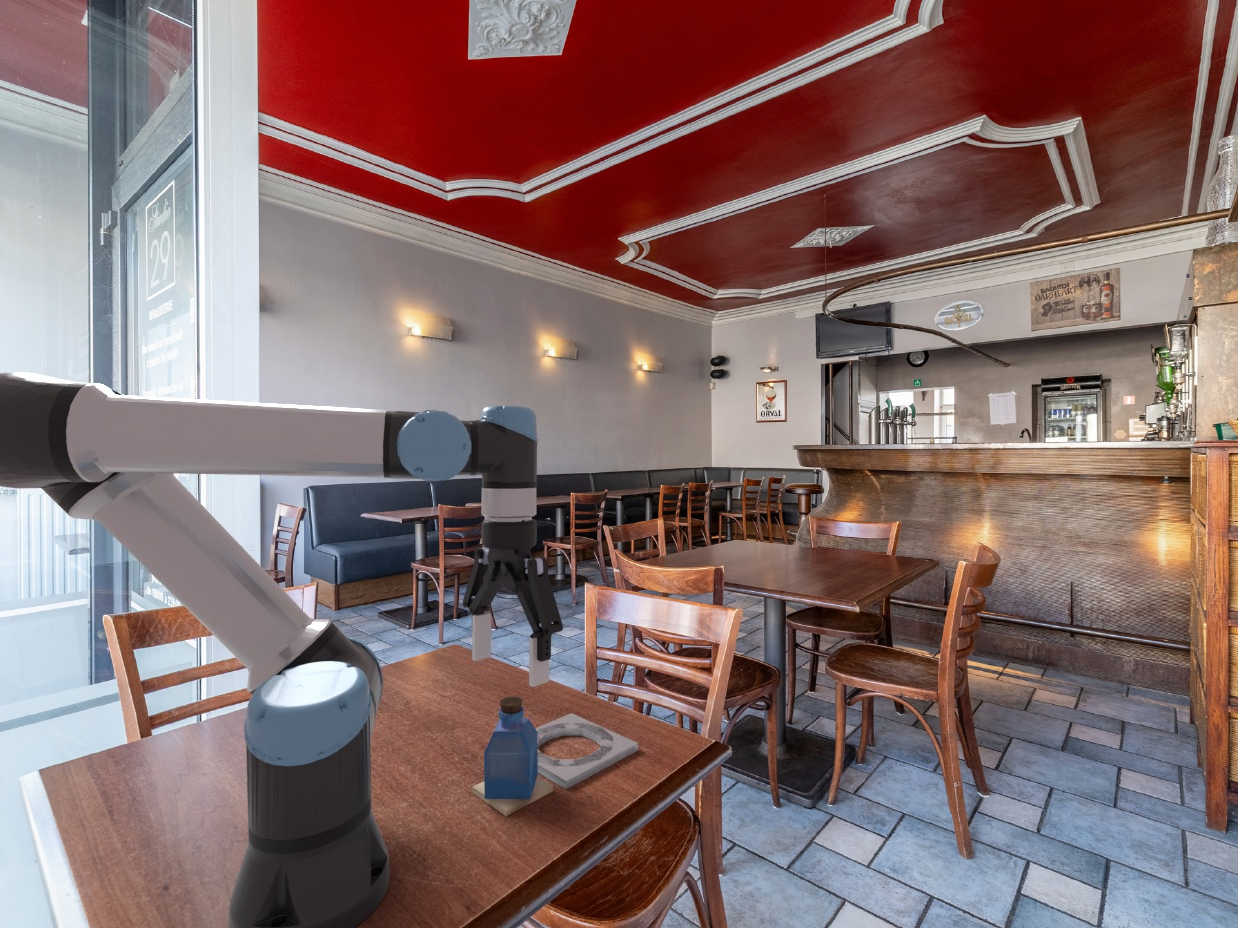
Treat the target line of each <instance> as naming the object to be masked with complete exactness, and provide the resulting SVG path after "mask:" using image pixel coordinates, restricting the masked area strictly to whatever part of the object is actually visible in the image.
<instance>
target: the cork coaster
mask: <svg viewBox="0 0 1238 928" xmlns="http://www.w3.org/2000/svg"><path fill="white" fill-rule="evenodd" d="M471 789H472V790H471V791H472V794H474V795H475V796H477V797H478V798H480V799H481V800H483V802H485V803H486V804H488V805H489V806H490V807H492V808H494V809H495V810H497V811H498V812H499V813H501V814H502V815H503V816H505V817H508V816H509V815H511V814H513V813H514V812H517V811H518V810H520V809H523V808H524V807H526V806H528V805H531V804H532V803H534V802H535V801H538V800H539V799H542V798H543V797H545V796H547V795H549V794H550V793H553V792H554V785H553V784H552V783H550V782H549V781H547V780H545V779H543V778H542V777H540V776H539V775H537V779H536V782H535V785H534V789H533V792H532V795H531V799H485V786H484V781H482V782H479V783H477V784H475V785H473V786H472V788H471Z"/></svg>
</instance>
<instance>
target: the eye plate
mask: <svg viewBox="0 0 1238 928" xmlns="http://www.w3.org/2000/svg"><path fill="white" fill-rule="evenodd" d="M534 728H535V729H536V731H537V744H538V775H541V776H542V777H545V778H547V779H548V780H550V781H551V782H553V783H555V784H556V785H558V786H560V787H561V788H563V789H565V790H567V789H569V788H571V787H573V786H575V785H577V784H579V783H581V782H583V781H585V780H586V779H588V778H590V777H591V776H594V775H596V774H598V773H599V772H601V771H602V770H605V769H607V768H608V767H611V766H613V765H614V764H616V763H618V762H620V761H622V760H623V759H625V758H627V757H629V756H631V755H633V754H635V753H637V752H638V751H639V743H638V742H637V741H635V740H632V739H630V738H628V737H625V736H623V735H622V734H618V733H616V732H615V731H613V730H609V729H608V728H605V727H603V726H601V725H599V724H596V723H594V722H593V721H590V720H587V719H585V718H584V717H582V716H578V715H577V714H575V713H572V712H571V713H569V714H566V715H564V716H561V717H559V718H557V719H554V720H552V721H549V722H547V723H544V724H542V725H540V726H537V727H534ZM565 736H567V737H574V736H579V737H583V738H587V739H590V740H592V741H594V742H596V744H598V745H599V747H598V748H597V749H596V750H595V751H594V752H592V753H590V754H587V755H585V756H581V757H578V758H568V759H567V758H565V759H564V758H560V759H559V758H555V757H552V756H549V755H546V754H544V753H542V751H540V748H539V747H540V746H542V745H543V744H545V743H546V742H548V741H551V740H553V739H557V738H561V737H565Z"/></svg>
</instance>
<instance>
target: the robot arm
mask: <svg viewBox="0 0 1238 928" xmlns="http://www.w3.org/2000/svg"><path fill="white" fill-rule="evenodd" d="M538 444H539V439H538V432H537V415H536V413H535V411H534V410H533V409H532V408H529V407H526V406H520V405H519V406H516V405H491V406H486V407H484V408H483V410H482V412H481V417H480V419H476V420H460V419H459V418H458V417H457V416H455V415H454V414H453V415H452V414H451V413H449V412H448V411H441V410H433V409H428V410H427V409H426V410H424V411H405V410H403V411H402V410H386V409H373V408H372V409H371V408H370V409H369V408H352V407H337V406H319V405H318V406H316V405H303V404H302V405H301V404H300V405H299V404H283V403H280V404H279V403H264V402H262V403H261V402H246V401H245V402H244V401H232V400H231V401H229V400H228V401H227V400H215V399H214V400H213V399H212V400H210V399H209V400H208V399H195V398H193V399H191V398H179V397H178V398H175V397H160V396H159V397H157V396H140V395H125V394H124V393H122V392H120V391H117V390H114V389H112V388H110V387H108V386H106V385H104V384H103V383H102V384H101V383H96V382H94V383H93V382H79V381H72V380H71V381H70V380H66V379H61V378H57V377H51V376H47V375H43V374H38V373H33V372H32V373H30V372H21V371H19V372H1V373H0V487H2V488H11V489H41V490H43V491H44V493H46V495H48V496H49V497H50V499H52V501H53V502H54V503H55V504H57V505H58V507H60V508H61V509H62V510H63V511H64V512H65V513H66V514H67V515H68V516H69V517H70V518H72V519H76V520H77V519H79V520H90V521H92V520H93V521H97V522H99V524H100V525H102V526H103V527H104V528H105V529H106V530H107V531H108V532H109V533H110V534H111V536H113V537H114V538H115V539H116V540H117V541H118V542H119V543H120V544H121V546H123V547H124V548H125V549H126V550H127V551H128V552H129V554H131V555H132V556H133V557H134V558H135V559H136V560H137V561H138V562H139V563H140V565H142V566H143V567H144V568H145V569H146V570H147V571H148V572H149V573H150V574H151V575H152V576H153V577H154V578H155V579H156V580H157V581H158V582H159V583H160V584H161V585H162V586H163V587H164V588H165V589H166V590H167V591H168V592H169V593H170V594H171V595H172V596H173V597H174V598H175V599H176V600H178V602H180V604H181V605H183V606H184V607H185V609H186V610H187V611H188V612H189V613H190V614H192V616H193V617H195V618H196V620H198V622H200V623H201V625H202V626H204V627H205V628H206V629H207V630H208V631H209V633H211V634H212V635H213V637H215V638H216V639H217V640H218V641H219V642H220V643H221V644H222V645H223V647H225V648H226V650H228V651H229V652H230V653H231V654H232V655H233V656H234V657H235V658H236V660H238V661H239V662H240V663H241V664H242V665H243V666H244V667H245V668H246V669H247V671H248V672H247V673H248V676H247V677H248V678H247V684H246V691H247V692H248V693H250V694H251V696H250V698H249V700H248V704H247V707H246V717H245V720H244V725H243V730H244V738H243V739H244V740H245V744H246V745H245V748H246V753H245V754H246V785H247V786H246V788H247V789H246V791H247V793H246V795H247V797H246V798H247V826H248V827H247V829H248V842H247V847H246V850H245V853H244V856H243V858H242V863H241V865H240V868H239V871H238V875H237V877H236V880H235V883H234V887H233V890H232V893H231V897H230V898H229V899H230V900H229V905H228V916H229V917H228V923H229V924H228V925H229V926H228V927H229V928H356V927H357V926H358V925H360V924H361V923H362V922H363V921H364V920H365V919H367V918H368V917H369V916H370V915H371V914H372V913H373V912H374V911H375V910H376V909H377V907H379V905H380V904H381V902H382V900H383V899H384V897H385V895H386V894H387V891H388V888H389V884H390V876H391V875H390V873H391V872H390V856H389V851H388V849H387V846H386V844H385V840H384V839H383V838H384V837H382V833H381V831H380V828H379V826H378V823H377V821H376V819H375V815H374V813H373V810H372V759H371V758H372V756H371V755H372V753H371V749H372V747H371V746H372V737H373V730H374V726H375V722H376V721H375V720H376V718H377V712H378V708H379V704H380V701H381V700H382V695H383V688H384V678H383V670H382V667H381V663H380V661H379V659H378V657H377V654H375V653H374V651H373V650H372V649H371V648H370V647H369V645H367V643H366V644H365V643H364V642H362V641H361V640H359V639H356V638H353V637H349V636H346V635H345V634H344V633H343V631H341V630H340V629H339V628H338V627H337V626H336V625H335V624H334V623H333V621H332V620H330V619H328V618H321V619H319V618H317V619H315V618H312V617H310V616H309V615H308V614H307V613H306V612H305V611H304V610H303V609H302V608H301V607H300V605H299V604H297V603H296V601H294V599H293V598H292V597H290V595H289V594H288V593H287V592H286V591H285V590H284V589H283V588H282V587H281V586H280V585H279V584H278V582H276V581H275V580H274V578H273V577H272V576H271V575H270V574H268V572H267V571H266V570H265V569H264V568H263V567H261V565H260V564H259V563H258V562H257V561H256V560H255V559H254V558H253V557H252V555H251V554H250V553H249V552H247V551H246V549H245V548H244V547H243V546H242V545H241V544H240V543H239V542H238V541H237V540H236V539H235V538H234V537H233V536H232V535H231V533H230V532H228V531H227V529H226V528H225V527H223V525H222V524H221V523H220V522H219V521H218V520H217V519H216V518H215V517H214V516H213V515H212V513H210V511H208V510H207V508H206V507H205V506H204V505H203V504H202V503H201V502H200V501H199V500H198V499H197V498H196V496H194V495H193V494H192V493H191V492H190V491H189V490H188V488H187V487H186V486H184V484H182V482H181V481H180V480H179V479H178V478H177V477H176V476H175V475H174V474H185V475H187V474H188V475H231V476H232V475H234V476H239V475H240V476H242V475H243V476H279V477H280V476H282V477H283V476H284V477H285V476H286V477H287V476H288V477H323V478H324V477H325V478H326V477H327V478H328V477H332V478H369V479H370V478H374V479H375V478H377V479H379V478H380V479H381V478H382V479H394V480H395V479H397V480H398V479H401V480H403V479H406V480H422V481H426V482H444V481H448V480H450V479H452V478H454V477H455V476H473V477H474V476H475V477H476V476H481V479H482V480H481V481H482V482H481V514H480V515H482V516H483V517H485V519H483V521H482V522H481V546H483V547H480V548H479V547H478V548H476V549H474V559H473V564H472V565H473V566H472V568H471V569H472V570H471V573H470V575H469V579H468V583H467V586H466V588H465V592H464V596H463V599H462V607H463V608H464V609H465V608H468V612H469V614H470V615H471V633H472V634H471V636H472V637H471V638H472V639H471V641H472V642H471V643H472V644H471V645H472V646H471V652H472V653H471V654H472V655H471V658H472V660H471V661H473V662H478V661H482V660H485V659H489V658H492V613H491V612H489V611H491V610H492V609H491V607H490V606H491V604H492V603H493V601H494V599H495V597H496V595H497V594H498V592H499V591H500V588H501V587H502V586H505V587H507V588H509V589H510V590H511V591H512V593H514V594H516V596H517V599H518V601H519V603H520V605H521V608H522V610H523V612H524V615H525V617H526V619H527V621H528V623H529V626H530V628H531V631H532V633H531V634H530V635H529V636H528V637H529V638H528V639H529V640H528V641H529V642H528V643H529V644H528V646H529V647H528V648H529V652H528V653H529V654H528V655H529V656H528V659H529V660H528V661H529V662H528V663H529V664H528V665H529V666H528V668H529V669H528V675H529V676H528V679H529V680H528V686H529V687H531V688H534V687H538V686H540V685H543V684H546V683H549V682H550V660H551V657H552V635H554V634H557V633H559V632H562V631H563V630H564V625H563V622H562V618H561V615H560V611H559V608H558V603H557V601H556V597H555V594H554V591H553V587H552V583H551V580H550V577H549V569H548V568H549V567H548V560H547V558H546V557H536V558H532V554H531V550H532V548H533V547H535V546H536V545H537V542H538V541H537V539H538V538H537V537H538V536H537V535H538V533H537V532H538V531H537V529H538V528H537V526H538V525H537V521H536V520H535V519H534V518H533V517H535V516H536V515H537V485H538V483H537V481H538V479H537V476H538V475H537V474H538V473H537V472H538V471H537V470H538Z"/></svg>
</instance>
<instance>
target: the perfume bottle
mask: <svg viewBox="0 0 1238 928" xmlns="http://www.w3.org/2000/svg"><path fill="white" fill-rule="evenodd" d="M523 701H524V700H523V698H522V697H519V696H514V695H513V696H512V695H511V696H506V697H503V698H502V699H500V700H499V704H500V708H499V710H498V720H499V721H498V723H497V724H496V727H495V729H494V730H493V733H492V735H491V737H490V739H489V742H488V743H487V746H486V748H485V750H484V753H483V762H484V763H483V766H484V767H483V768H484V769H483V770H484V774H483V775H484V776H483V777H484V779H483V780H484V786H485V799H531V795H532V792H533V789H534V785H535V782H536V779H537V776H539V773H538V750H539V748H538V744H537V731H536V729H535V728H536V727H535V726H534V725H533V723H532V722H531V720H530V719H529V718H527V717H526V718H525V717H524V715H525V709H524V706H523Z"/></svg>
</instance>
